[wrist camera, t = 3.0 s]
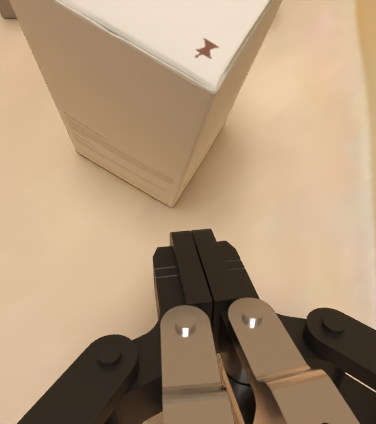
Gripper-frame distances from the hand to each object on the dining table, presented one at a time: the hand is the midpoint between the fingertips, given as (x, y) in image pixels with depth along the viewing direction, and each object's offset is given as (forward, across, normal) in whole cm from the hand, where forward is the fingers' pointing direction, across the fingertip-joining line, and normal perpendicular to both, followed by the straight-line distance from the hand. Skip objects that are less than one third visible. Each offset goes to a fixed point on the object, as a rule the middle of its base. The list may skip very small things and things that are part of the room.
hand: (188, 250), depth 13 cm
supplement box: (+12, 0, 0) cm, 12 cm away
